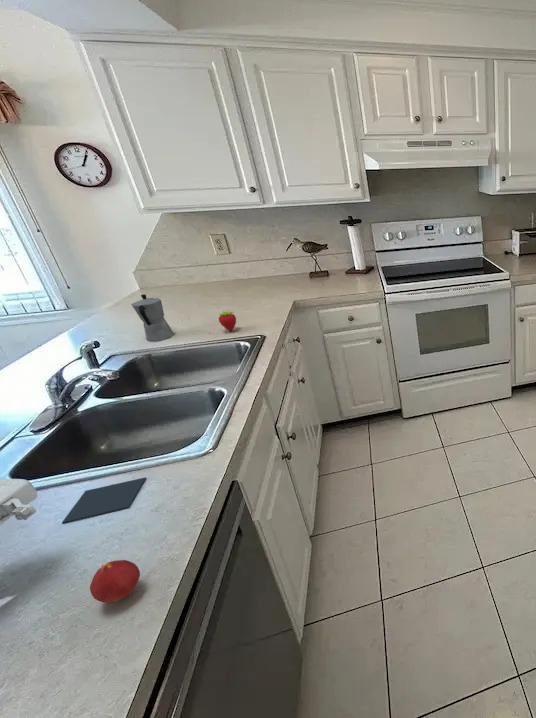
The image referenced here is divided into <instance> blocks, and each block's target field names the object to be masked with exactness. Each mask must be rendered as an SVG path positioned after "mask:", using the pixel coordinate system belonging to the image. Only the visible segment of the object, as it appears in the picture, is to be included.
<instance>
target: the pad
mask: <svg viewBox="0 0 536 718" xmlns="http://www.w3.org/2000/svg"><path fill="white" fill-rule="evenodd" d="M147 478H148V477H146V476H145V477H140V478H137V479H131V480H127V481H122V482H118V483H114V484H110V485H103V486H100V487H97V488H92V489H87V490H85V491H84V492H83V494H82V495H81V496H80V497H79V499H78V500H77V501H76V503H75V504H74V505H73V507H72V508H71V510H70V511H69V512H68V513H67V515H66V516H65V517H64V519H63V520H62V522H61V524H62V525H65V524H68V523H72V522H77V521H81V520H84V519H85V520H86V519H89V518H93V517H98V516H103V515H107V514H110V513H114V512H119V511H122V510H126V509H130V508H131V506H132V505H133V503H134V501H135V499H136V498H137V496H138V494H139V492H140V491H141V489H142V488H143V486H142V485H144V484H145V482H146V480H147Z"/></svg>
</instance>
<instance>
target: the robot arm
mask: <svg viewBox="0 0 536 718" xmlns="http://www.w3.org/2000/svg"><path fill="white" fill-rule="evenodd" d="M37 498H38V491H37V490H36V487H35V486H34V485H33V484H32V483H31V482H30V481H29V480H27V479H23V478H0V526H1V525H3V524H4V523H6V521H8V520H9V519H10V518H12V517H13V516H14V517H15V519H16V520H17V521H26V520H28V519H29V518H30V517H32V516H33V515H35V514H36V513H37V510H36V508H35V507H34V506H33V505H31V503H32V502H33V501H34V500H36V499H37Z"/></svg>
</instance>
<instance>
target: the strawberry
mask: <svg viewBox="0 0 536 718" xmlns="http://www.w3.org/2000/svg"><path fill="white" fill-rule="evenodd" d="M218 322H219V323H220V325H221V326H222V328H224V329H226V330H227V331H228V332H230V333H231V332H233V331H234V328H235V326H236V324H237V317H236V315H235V314H234V311H222V312H221V313H219V317H218Z"/></svg>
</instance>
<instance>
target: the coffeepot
mask: <svg viewBox="0 0 536 718" xmlns="http://www.w3.org/2000/svg"><path fill="white" fill-rule="evenodd" d="M140 297H141V299H139V300H137V301H134V302H133V303H131V304H130V305H131V307H132V308H133V309H134V311H135V313H136V314H137V316H138V317H139V319H140V320H141V321H142V323H143V329H144V334H145V339H146V341H148V342H149V343H150V342H151V343H154V342H161V341H165V340H167V339H170V338H172V337H173V336H175V332H174V331H173V330H172V328H171V326H170V324H169V323H168V322H167V320H166V319H165V317H164V316H165V312H164V307H163V303H162V299H161V298H159V297H147V294H145V293H143V294H141V295H140Z"/></svg>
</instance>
